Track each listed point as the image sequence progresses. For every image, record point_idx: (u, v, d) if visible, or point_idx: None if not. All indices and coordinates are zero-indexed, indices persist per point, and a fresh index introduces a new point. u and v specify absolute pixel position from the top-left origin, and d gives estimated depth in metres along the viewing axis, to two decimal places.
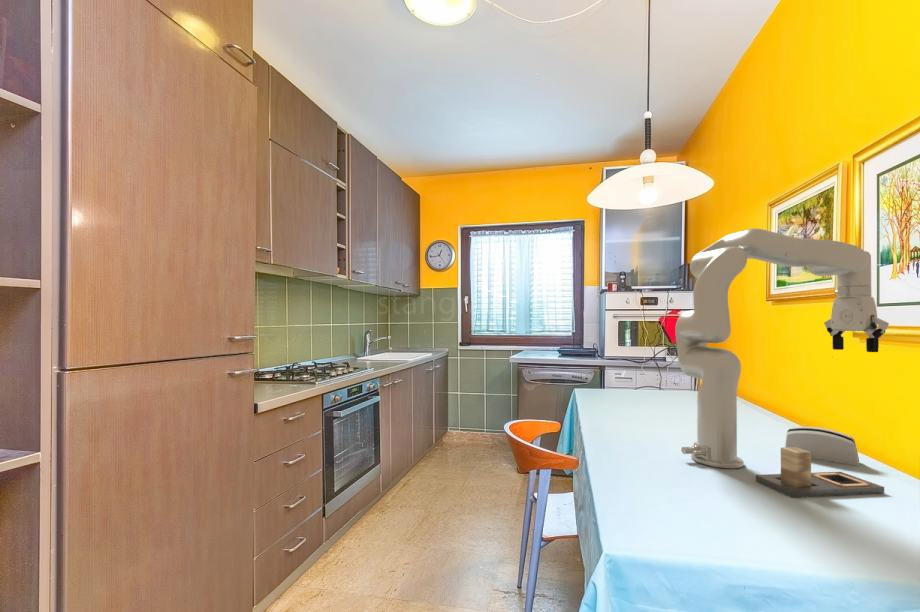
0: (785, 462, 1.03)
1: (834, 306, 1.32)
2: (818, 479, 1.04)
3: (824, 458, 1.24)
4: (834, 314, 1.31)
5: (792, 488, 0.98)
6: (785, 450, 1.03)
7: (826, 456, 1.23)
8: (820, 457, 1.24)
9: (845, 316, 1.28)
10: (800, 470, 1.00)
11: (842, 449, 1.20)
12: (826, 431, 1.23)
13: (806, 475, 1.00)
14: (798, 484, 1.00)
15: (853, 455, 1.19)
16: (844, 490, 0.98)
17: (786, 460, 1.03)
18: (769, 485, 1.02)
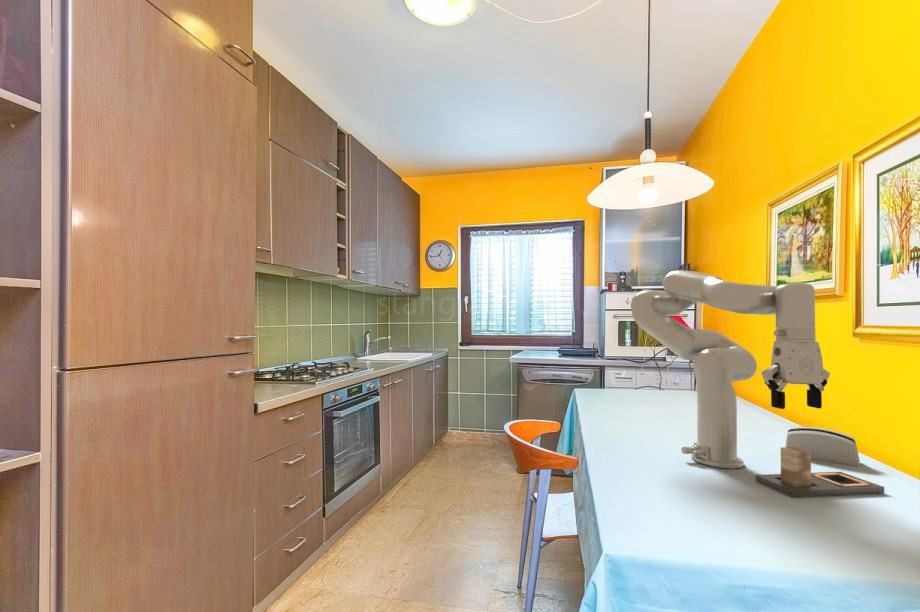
0: (785, 462, 1.03)
1: (791, 352, 1.00)
2: (818, 479, 1.04)
3: (824, 458, 1.24)
4: (792, 363, 1.00)
5: (792, 488, 0.98)
6: (785, 450, 1.03)
7: (827, 457, 1.23)
8: (820, 457, 1.24)
9: (806, 365, 1.00)
10: (800, 470, 1.00)
11: (843, 449, 1.20)
12: (826, 431, 1.23)
13: (806, 475, 1.00)
14: (798, 484, 1.00)
15: (854, 455, 1.19)
16: (844, 490, 0.98)
17: (786, 460, 1.03)
18: (769, 485, 1.02)
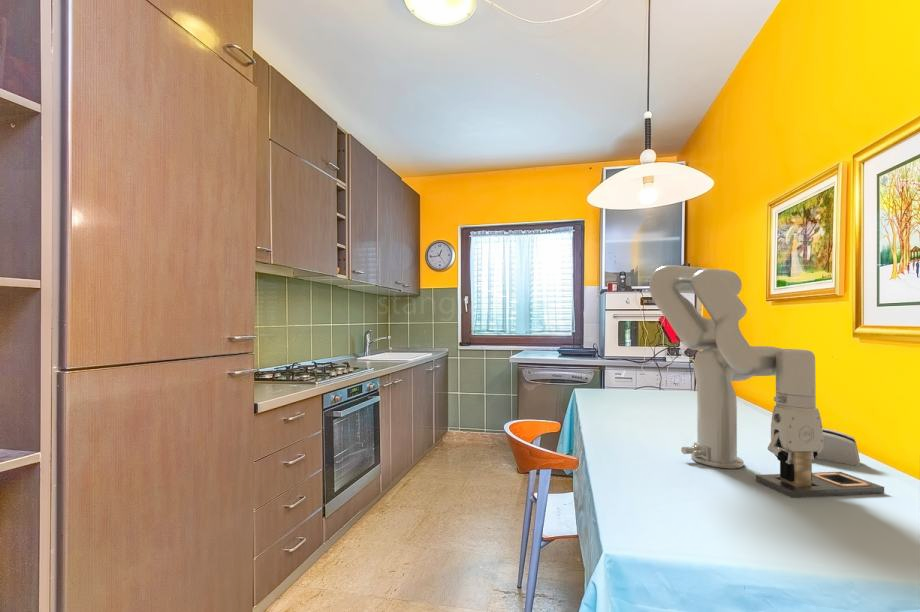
0: None
1: (791, 420, 1.00)
2: (818, 479, 1.04)
3: (825, 458, 1.24)
4: (792, 431, 1.00)
5: (792, 488, 0.98)
6: None
7: (827, 456, 1.23)
8: (821, 457, 1.24)
9: (805, 433, 1.00)
10: (800, 470, 1.00)
11: (843, 449, 1.20)
12: (827, 431, 1.23)
13: (806, 475, 1.00)
14: (798, 484, 1.00)
15: (854, 455, 1.19)
16: (844, 490, 0.98)
17: None
18: (769, 485, 1.02)
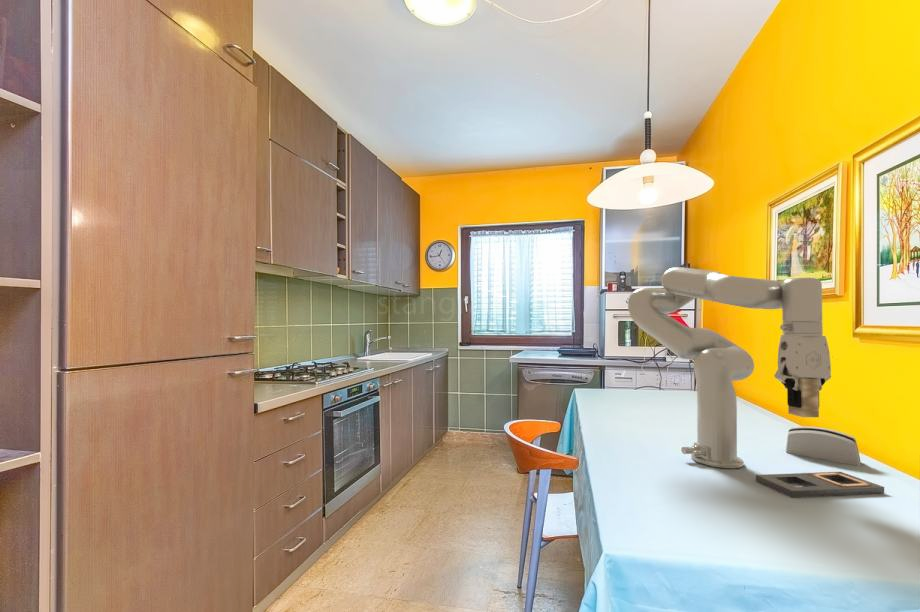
0: None
1: (798, 346, 1.00)
2: (818, 479, 1.04)
3: (825, 457, 1.24)
4: (799, 357, 1.00)
5: (792, 488, 0.98)
6: None
7: (827, 456, 1.23)
8: (821, 457, 1.25)
9: (812, 359, 1.00)
10: (807, 396, 1.01)
11: (843, 449, 1.20)
12: (827, 431, 1.24)
13: (814, 401, 1.01)
14: (805, 410, 1.01)
15: (854, 455, 1.19)
16: (844, 490, 0.98)
17: None
18: (769, 485, 1.02)
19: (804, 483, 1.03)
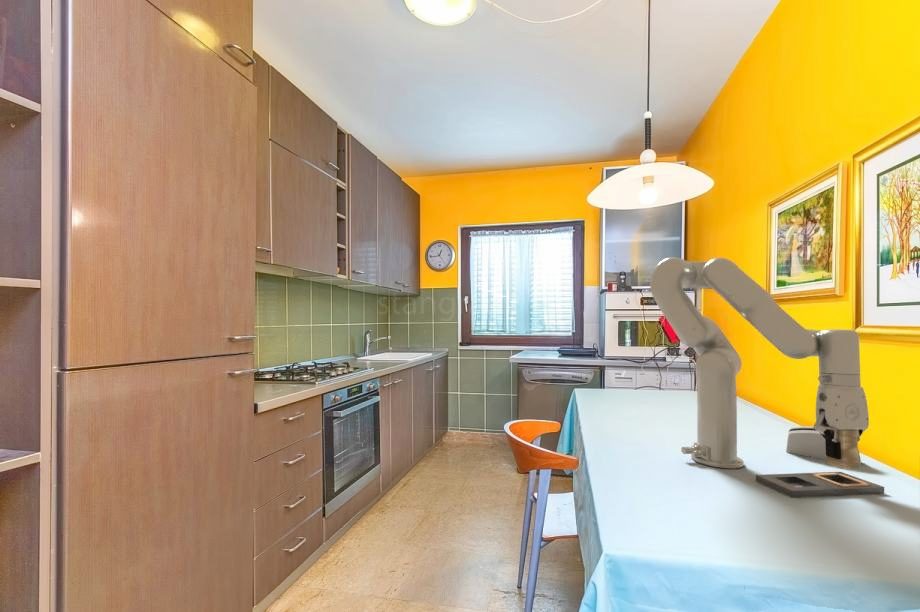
0: None
1: (837, 399, 1.01)
2: (818, 479, 1.04)
3: (826, 457, 1.24)
4: (838, 409, 1.01)
5: (792, 488, 0.98)
6: None
7: None
8: (822, 457, 1.25)
9: (851, 411, 1.01)
10: (847, 447, 1.02)
11: None
12: None
13: (853, 453, 1.02)
14: (845, 462, 1.02)
15: None
16: (844, 490, 0.98)
17: None
18: (769, 485, 1.02)
19: (804, 483, 1.03)
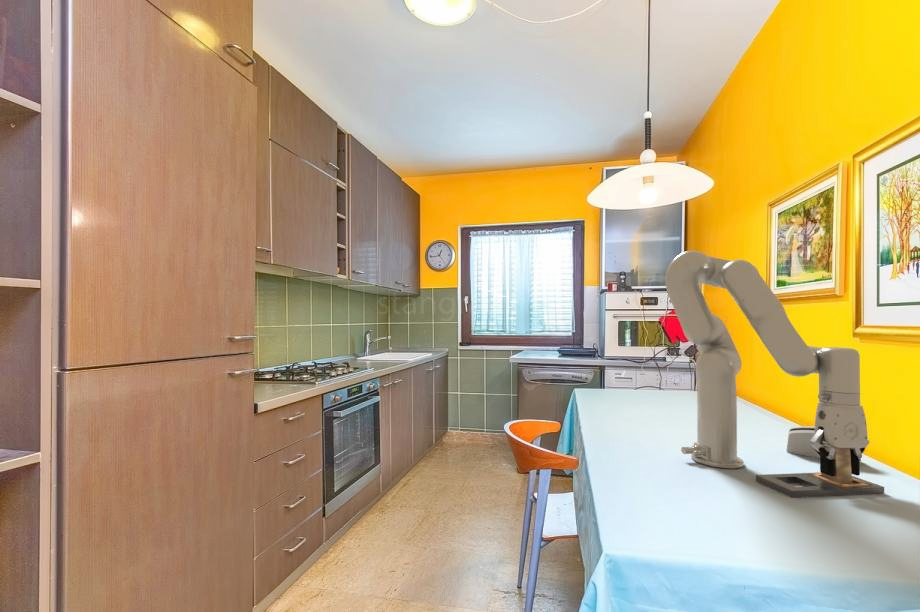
0: None
1: (836, 417, 1.01)
2: (818, 479, 1.04)
3: None
4: (837, 428, 1.01)
5: (792, 488, 0.98)
6: None
7: None
8: None
9: (850, 430, 1.01)
10: (840, 466, 1.03)
11: None
12: None
13: (847, 471, 1.03)
14: (839, 480, 1.03)
15: None
16: (844, 490, 0.98)
17: None
18: (769, 485, 1.02)
19: (804, 483, 1.03)
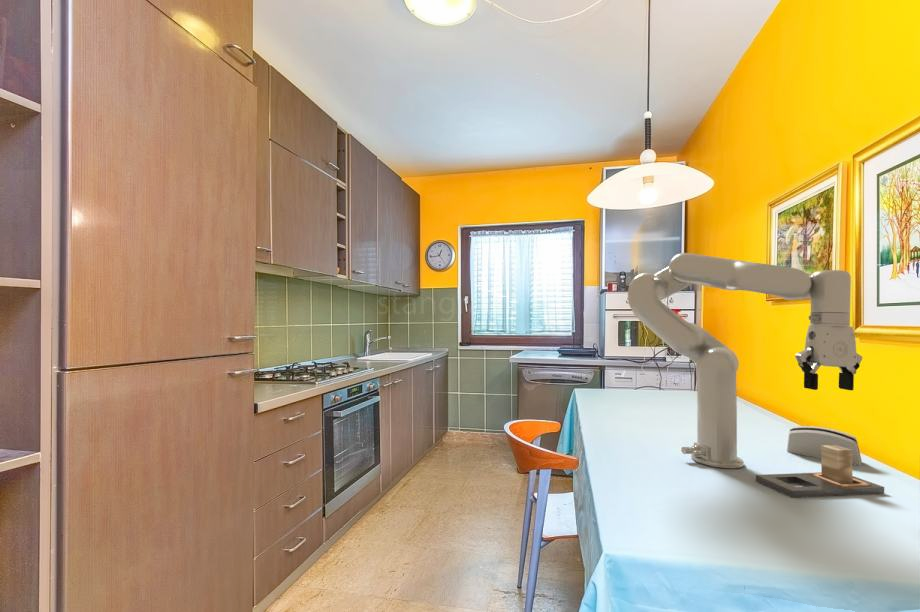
0: (826, 460, 1.05)
1: (826, 336, 1.05)
2: (818, 479, 1.04)
3: None
4: (826, 346, 1.04)
5: (792, 488, 0.98)
6: (826, 448, 1.05)
7: None
8: None
9: (839, 349, 1.05)
10: (842, 467, 1.03)
11: None
12: (828, 430, 1.24)
13: (847, 472, 1.03)
14: (840, 481, 1.02)
15: (855, 454, 1.19)
16: (844, 490, 0.98)
17: (827, 458, 1.05)
18: (769, 485, 1.02)
19: (804, 483, 1.03)
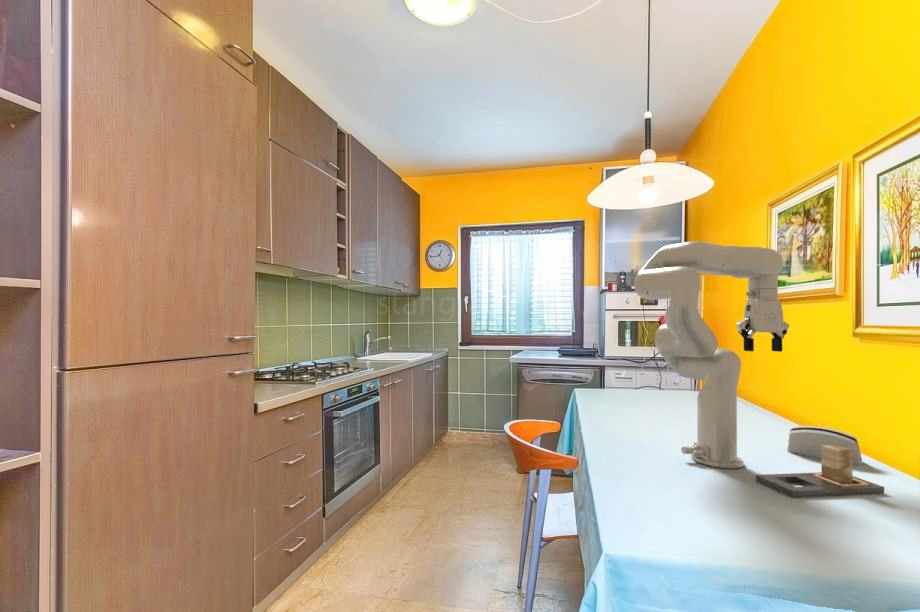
0: (826, 460, 1.05)
1: (758, 307, 1.30)
2: (818, 479, 1.04)
3: None
4: (759, 316, 1.30)
5: (792, 488, 0.98)
6: (826, 448, 1.05)
7: None
8: None
9: (769, 318, 1.30)
10: (842, 467, 1.03)
11: None
12: (828, 430, 1.24)
13: (847, 472, 1.03)
14: (840, 481, 1.02)
15: (855, 454, 1.20)
16: (844, 490, 0.98)
17: (827, 458, 1.05)
18: (769, 485, 1.02)
19: (804, 483, 1.03)
